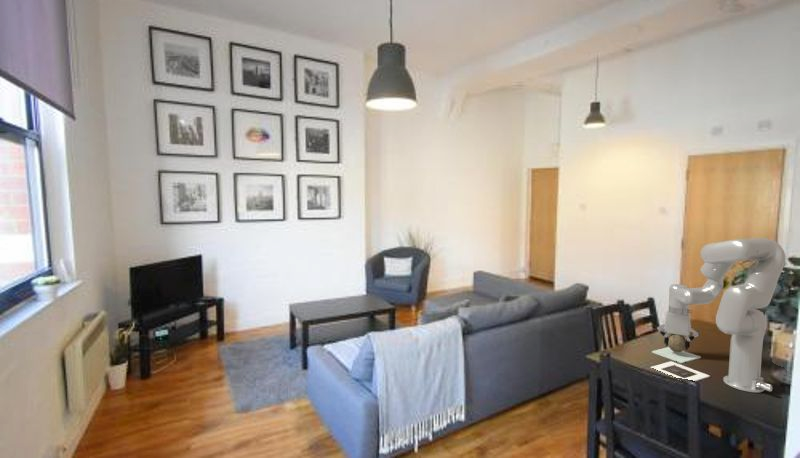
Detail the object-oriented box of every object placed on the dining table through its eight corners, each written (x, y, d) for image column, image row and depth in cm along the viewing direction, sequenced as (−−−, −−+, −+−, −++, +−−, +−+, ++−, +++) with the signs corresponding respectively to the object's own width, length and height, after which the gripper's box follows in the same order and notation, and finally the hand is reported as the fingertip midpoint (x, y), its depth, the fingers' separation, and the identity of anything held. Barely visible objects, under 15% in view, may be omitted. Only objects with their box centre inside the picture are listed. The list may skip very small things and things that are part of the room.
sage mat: (700, 358, 184) (700, 356, 184) (681, 363, 179) (682, 362, 179) (670, 347, 197) (670, 346, 197) (651, 352, 192) (651, 351, 192)
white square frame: (709, 376, 166) (709, 375, 166) (689, 383, 160) (689, 382, 160) (670, 362, 180) (671, 361, 180) (650, 368, 175) (650, 366, 175)
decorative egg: (670, 353, 185) (671, 333, 185) (665, 348, 192) (666, 328, 191) (688, 355, 183) (689, 334, 182) (682, 349, 190) (683, 329, 189)
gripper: (701, 311, 184) (699, 348, 185) (656, 306, 194) (655, 340, 196) (701, 315, 178) (699, 353, 179) (655, 309, 188) (654, 345, 190)
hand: (676, 346), depth 187 cm, fingers closed on decorative egg, 7 cm apart
